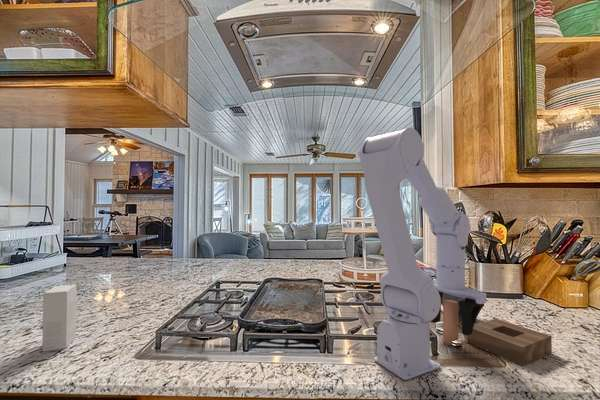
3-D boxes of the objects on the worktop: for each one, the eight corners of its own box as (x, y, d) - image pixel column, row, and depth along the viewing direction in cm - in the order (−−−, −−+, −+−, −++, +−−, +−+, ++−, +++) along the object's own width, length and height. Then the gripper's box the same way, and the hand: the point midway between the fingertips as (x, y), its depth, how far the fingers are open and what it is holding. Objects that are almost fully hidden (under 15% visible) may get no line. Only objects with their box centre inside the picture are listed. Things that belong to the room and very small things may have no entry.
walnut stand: (523, 366, 57) (522, 347, 57) (467, 342, 66) (467, 326, 67) (551, 353, 62) (551, 336, 62) (496, 333, 72) (495, 318, 72)
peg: (452, 347, 64) (452, 305, 64) (440, 341, 67) (440, 301, 67) (461, 344, 66) (461, 303, 66) (449, 339, 68) (448, 299, 68)
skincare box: (53, 340, 66) (54, 285, 67) (76, 337, 68) (77, 284, 68) (40, 352, 61) (42, 293, 61) (66, 349, 62) (67, 291, 63)
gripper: (494, 270, 62) (495, 336, 62) (434, 259, 75) (434, 314, 75) (474, 273, 59) (474, 343, 58) (414, 261, 72) (414, 318, 71)
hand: (450, 327), depth 66 cm, fingers open, 7 cm apart
